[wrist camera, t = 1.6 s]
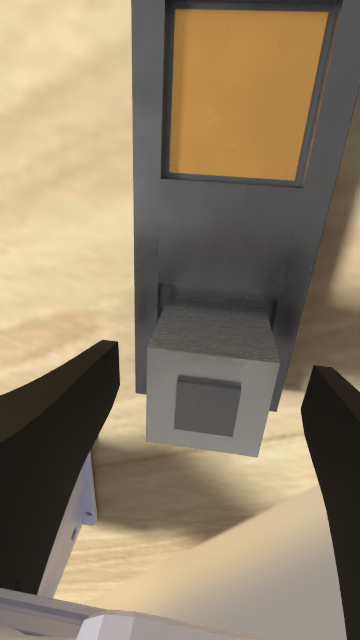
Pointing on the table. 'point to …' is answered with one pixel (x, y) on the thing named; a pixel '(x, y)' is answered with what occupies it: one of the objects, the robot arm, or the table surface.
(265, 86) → the dark gray slotted base
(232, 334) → the grey square block
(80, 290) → the table surface
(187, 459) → the table surface
